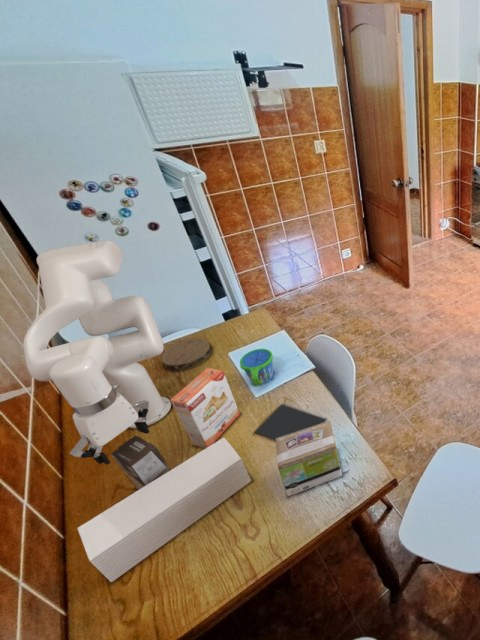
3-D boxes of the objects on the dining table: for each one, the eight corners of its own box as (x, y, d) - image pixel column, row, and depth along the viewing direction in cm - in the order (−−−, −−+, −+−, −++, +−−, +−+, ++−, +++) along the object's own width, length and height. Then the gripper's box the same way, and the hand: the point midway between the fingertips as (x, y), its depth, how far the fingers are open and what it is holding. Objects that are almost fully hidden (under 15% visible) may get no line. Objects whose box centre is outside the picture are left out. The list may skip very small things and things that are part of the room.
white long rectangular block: (234, 459, 117) (224, 437, 112) (251, 481, 112) (241, 458, 106) (98, 550, 95) (77, 527, 90) (111, 582, 90) (89, 560, 84)
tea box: (288, 498, 108) (276, 467, 100) (285, 468, 116) (273, 437, 108) (343, 476, 114) (335, 445, 107) (337, 449, 122) (329, 418, 114)
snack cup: (273, 391, 141) (266, 371, 135) (241, 395, 138) (233, 375, 133) (281, 362, 154) (276, 342, 148) (252, 365, 151) (245, 345, 146)
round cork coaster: (173, 346, 159) (171, 340, 157) (217, 341, 162) (214, 335, 161) (156, 373, 146) (153, 367, 144) (203, 367, 149) (201, 361, 148)
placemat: (254, 432, 126) (254, 431, 125) (281, 405, 136) (281, 404, 135) (300, 449, 121) (300, 448, 121) (325, 419, 131) (324, 419, 131)
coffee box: (179, 481, 111) (158, 446, 103) (156, 501, 106) (131, 466, 98) (158, 469, 114) (135, 434, 105) (134, 488, 109) (108, 453, 100)
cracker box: (209, 449, 120) (185, 403, 109) (192, 445, 121) (167, 399, 110) (241, 414, 132) (223, 369, 121) (226, 410, 133) (206, 366, 122)
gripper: (122, 373, 101) (148, 417, 110) (39, 424, 87) (77, 470, 95) (143, 380, 99) (168, 424, 108) (62, 434, 85) (98, 480, 93)
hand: (125, 446), depth 101 cm, fingers open, 9 cm apart
